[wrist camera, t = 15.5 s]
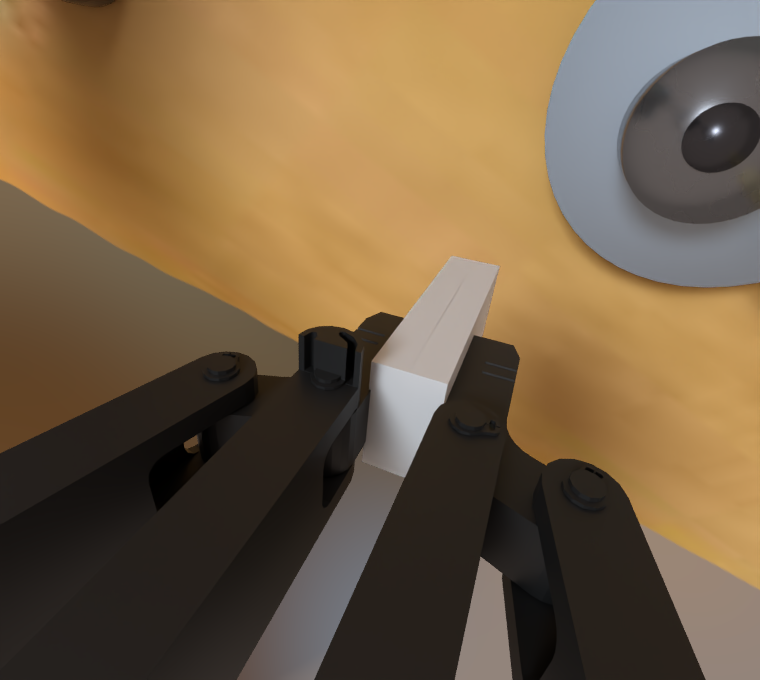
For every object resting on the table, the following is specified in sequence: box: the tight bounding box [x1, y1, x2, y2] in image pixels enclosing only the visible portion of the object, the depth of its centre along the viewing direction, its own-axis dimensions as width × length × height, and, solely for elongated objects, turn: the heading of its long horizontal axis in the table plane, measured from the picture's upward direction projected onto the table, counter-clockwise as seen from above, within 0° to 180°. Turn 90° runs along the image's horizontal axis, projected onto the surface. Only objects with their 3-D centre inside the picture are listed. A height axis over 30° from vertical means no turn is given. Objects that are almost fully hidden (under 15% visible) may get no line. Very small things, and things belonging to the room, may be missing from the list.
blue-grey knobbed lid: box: [545, 0, 760, 287], centre depth 22 cm, size 20×20×10 cm
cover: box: [617, 36, 760, 224], centre depth 23 cm, size 8×8×5 cm
